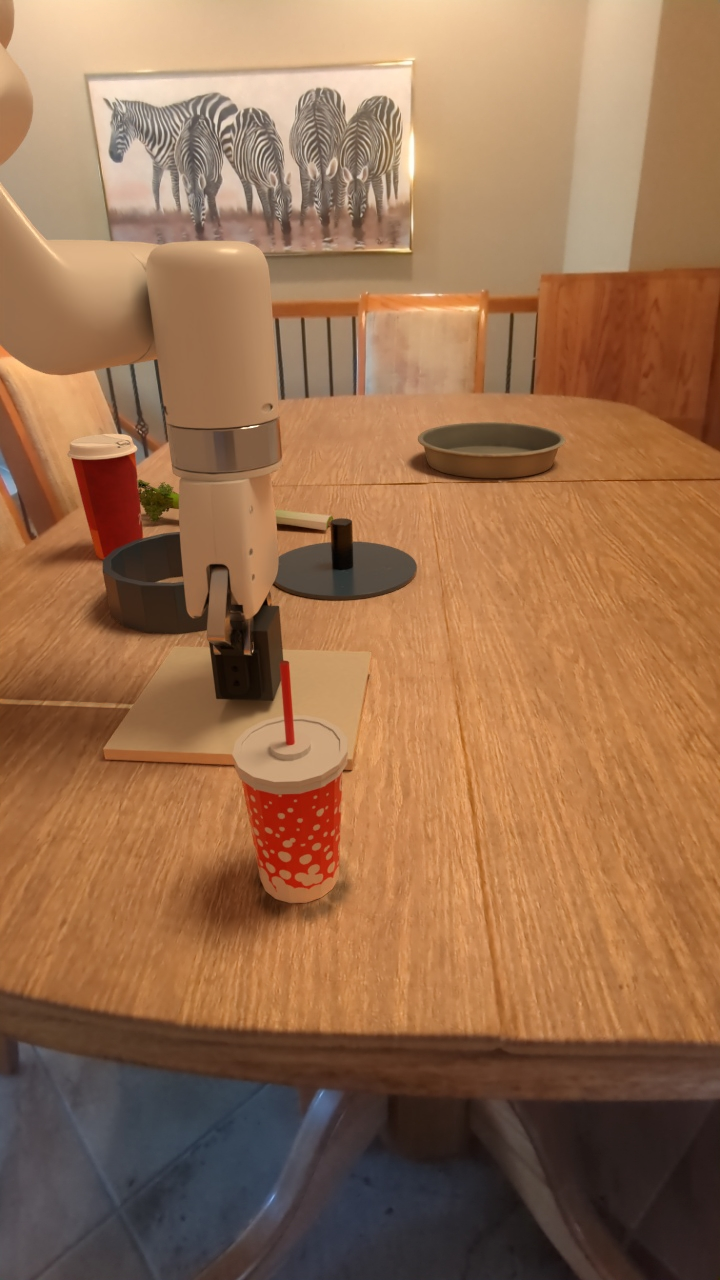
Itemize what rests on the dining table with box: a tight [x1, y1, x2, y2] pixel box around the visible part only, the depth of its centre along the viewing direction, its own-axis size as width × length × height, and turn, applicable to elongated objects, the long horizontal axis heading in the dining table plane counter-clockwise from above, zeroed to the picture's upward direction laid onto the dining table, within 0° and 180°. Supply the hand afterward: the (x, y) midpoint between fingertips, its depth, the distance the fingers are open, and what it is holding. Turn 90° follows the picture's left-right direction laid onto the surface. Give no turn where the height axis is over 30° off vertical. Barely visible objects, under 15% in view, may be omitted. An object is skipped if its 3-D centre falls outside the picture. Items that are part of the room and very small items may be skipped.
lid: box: [273, 517, 418, 601], centre depth 84 cm, size 17×17×6 cm
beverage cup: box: [232, 661, 348, 904], centre depth 41 cm, size 6×6×14 cm
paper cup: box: [66, 433, 144, 560], centre depth 89 cm, size 8×8×14 cm
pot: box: [102, 531, 233, 635], centre depth 77 cm, size 16×16×6 cm
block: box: [208, 605, 284, 701], centre depth 58 cm, size 4×4×6 cm
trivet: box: [102, 645, 373, 771], centre depth 60 cm, size 18×16×1 cm
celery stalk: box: [138, 478, 334, 531], centre depth 101 cm, size 6×7×30 cm
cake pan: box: [417, 421, 566, 480], centre depth 128 cm, size 25×25×4 cm
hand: (249, 677), depth 59 cm, fingers closed on block, 4 cm apart
